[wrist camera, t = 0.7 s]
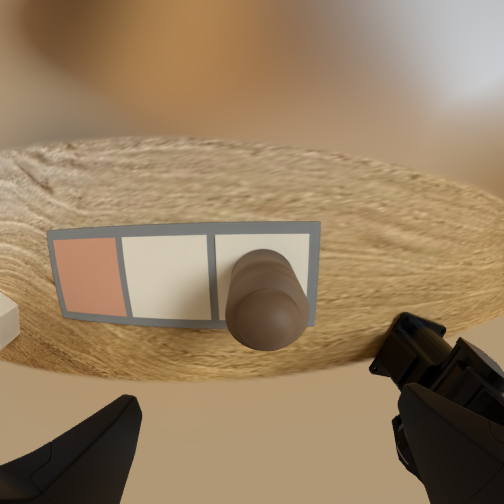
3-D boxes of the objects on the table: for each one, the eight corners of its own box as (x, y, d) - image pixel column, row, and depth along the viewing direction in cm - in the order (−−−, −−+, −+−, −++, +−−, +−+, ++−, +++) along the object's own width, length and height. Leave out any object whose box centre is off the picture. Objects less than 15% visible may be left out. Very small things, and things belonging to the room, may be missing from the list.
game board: (319, 221, 19) (321, 222, 19) (313, 323, 21) (314, 326, 20) (49, 230, 19) (45, 231, 18) (65, 315, 21) (63, 318, 20)
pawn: (303, 262, 19) (334, 309, 12) (278, 315, 20) (293, 381, 13) (244, 239, 19) (242, 276, 11) (222, 295, 20) (209, 357, 12)
